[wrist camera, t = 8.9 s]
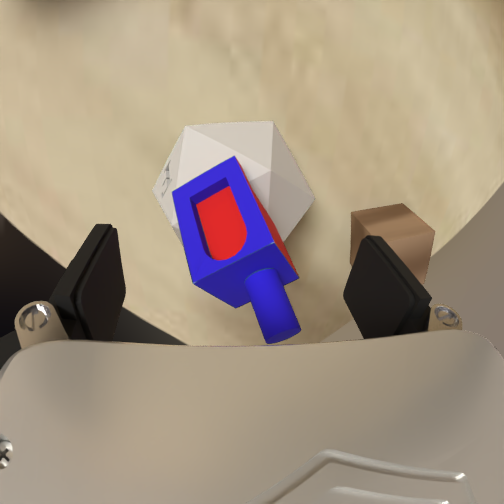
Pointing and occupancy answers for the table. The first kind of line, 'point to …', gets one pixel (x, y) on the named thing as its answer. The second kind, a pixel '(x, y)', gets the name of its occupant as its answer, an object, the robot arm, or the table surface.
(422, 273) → the walnut cube
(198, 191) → the toy building block
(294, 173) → the die
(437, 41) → the table surface
